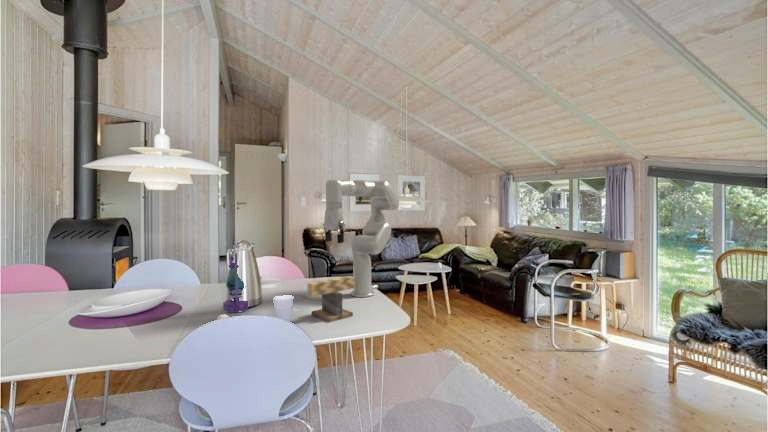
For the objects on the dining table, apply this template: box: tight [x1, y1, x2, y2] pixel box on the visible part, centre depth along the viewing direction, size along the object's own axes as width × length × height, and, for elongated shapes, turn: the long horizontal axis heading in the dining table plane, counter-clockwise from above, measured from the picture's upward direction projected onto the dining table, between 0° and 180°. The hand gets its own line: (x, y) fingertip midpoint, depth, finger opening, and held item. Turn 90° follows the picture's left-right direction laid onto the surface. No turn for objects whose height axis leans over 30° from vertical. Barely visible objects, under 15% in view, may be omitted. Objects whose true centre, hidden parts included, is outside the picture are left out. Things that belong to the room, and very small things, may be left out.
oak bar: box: [307, 275, 354, 298], centre depth 166 cm, size 22×4×5 cm, turn 133°
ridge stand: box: [311, 291, 354, 323], centre depth 166 cm, size 12×14×10 cm
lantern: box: [222, 244, 249, 313], centre depth 174 cm, size 13×12×30 cm
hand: (334, 241), depth 182 cm, fingers open, 9 cm apart
